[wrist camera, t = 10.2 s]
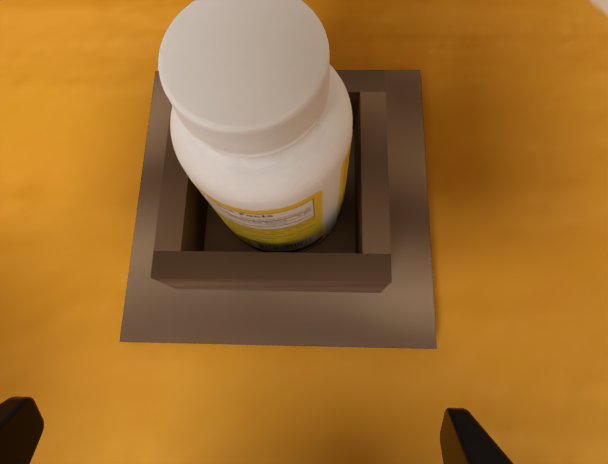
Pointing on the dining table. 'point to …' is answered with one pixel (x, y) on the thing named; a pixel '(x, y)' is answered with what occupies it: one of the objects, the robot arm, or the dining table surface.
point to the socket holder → (293, 266)
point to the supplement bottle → (259, 118)
